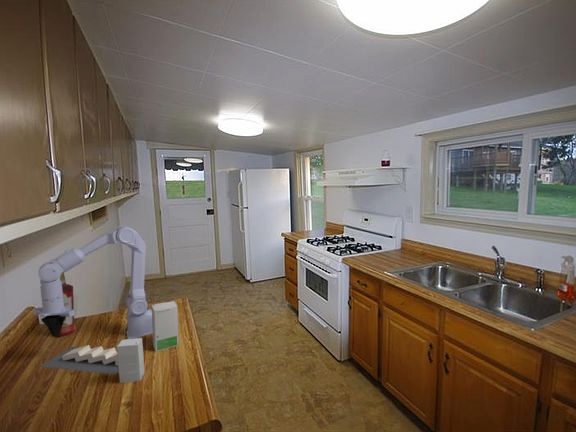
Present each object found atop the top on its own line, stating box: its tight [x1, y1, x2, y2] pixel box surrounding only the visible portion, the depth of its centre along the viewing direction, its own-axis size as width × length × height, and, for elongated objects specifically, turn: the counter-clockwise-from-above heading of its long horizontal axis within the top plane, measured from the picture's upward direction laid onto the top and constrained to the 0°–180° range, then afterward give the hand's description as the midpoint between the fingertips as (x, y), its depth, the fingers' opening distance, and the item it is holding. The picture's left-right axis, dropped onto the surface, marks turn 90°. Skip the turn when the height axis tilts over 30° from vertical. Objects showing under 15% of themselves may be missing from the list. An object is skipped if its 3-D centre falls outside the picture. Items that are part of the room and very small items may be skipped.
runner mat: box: [40, 346, 119, 375], centre depth 99 cm, size 28×12×1 cm, turn 80°
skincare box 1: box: [116, 337, 146, 384], centre depth 89 cm, size 6×4×12 cm
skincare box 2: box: [151, 301, 180, 352], centre depth 108 cm, size 8×7×16 cm
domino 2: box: [75, 345, 104, 362], centre depth 99 cm, size 2×4×7 cm
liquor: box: [58, 272, 77, 337], centre depth 117 cm, size 7×7×28 cm
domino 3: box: [88, 346, 117, 363], centre depth 99 cm, size 2×4×7 cm
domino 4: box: [102, 350, 118, 365], centre depth 98 cm, size 2×4×7 cm
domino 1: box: [62, 344, 91, 361], centre depth 100 cm, size 2×4×7 cm
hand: (56, 335), depth 101 cm, fingers closed
